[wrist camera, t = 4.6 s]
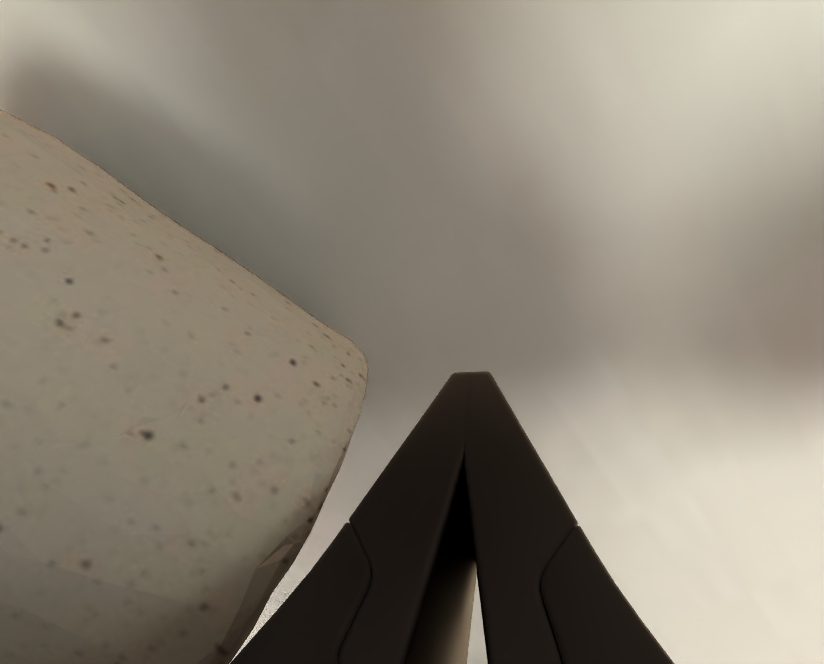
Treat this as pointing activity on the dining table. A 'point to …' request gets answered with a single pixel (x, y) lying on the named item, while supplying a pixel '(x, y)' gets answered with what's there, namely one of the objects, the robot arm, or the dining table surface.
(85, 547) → the ceramic mug
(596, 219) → the dining table surface
